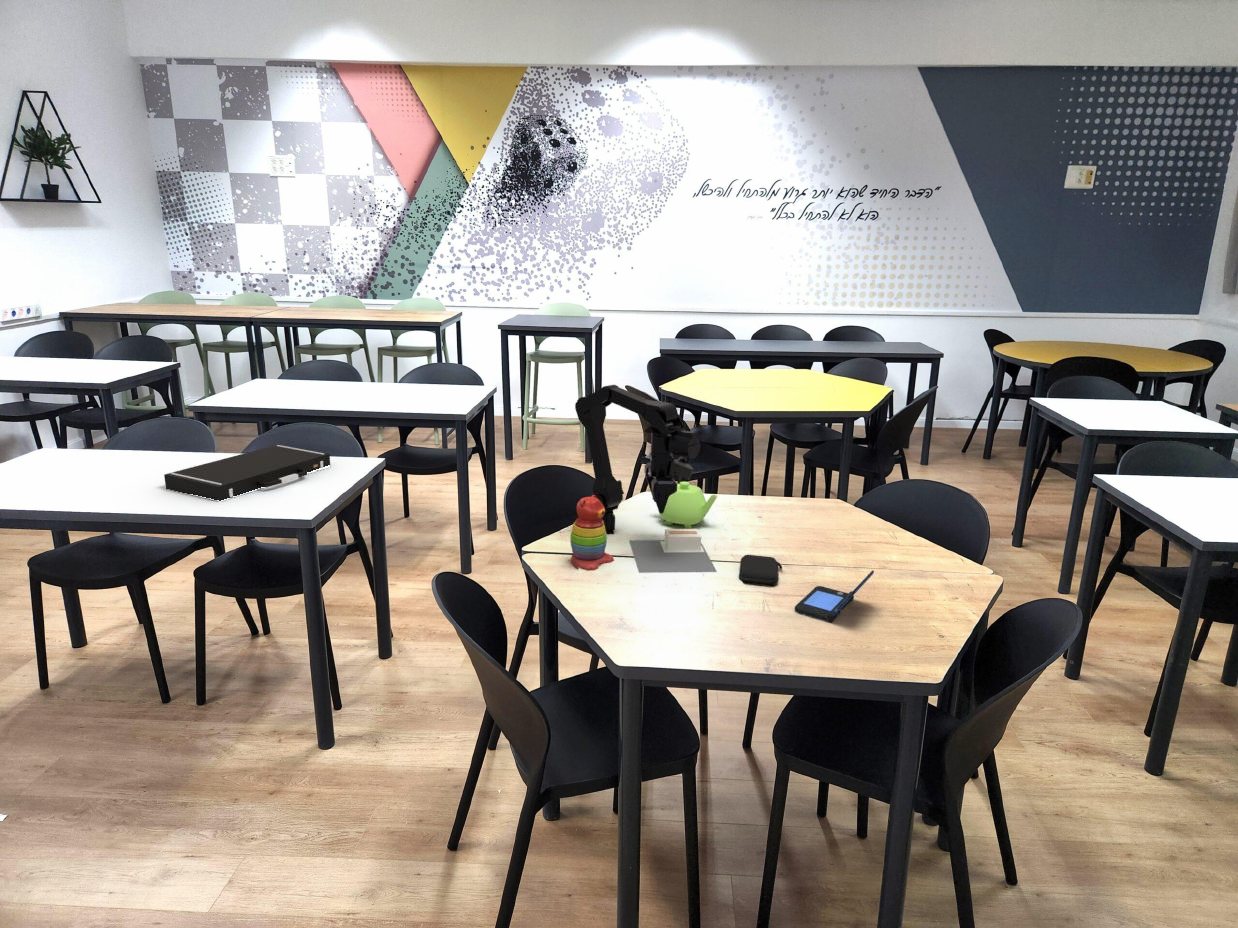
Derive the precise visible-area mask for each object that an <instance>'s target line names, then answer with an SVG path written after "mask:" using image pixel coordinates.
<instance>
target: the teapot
mask: <svg viewBox="0 0 1238 928" xmlns="http://www.w3.org/2000/svg"><path fill="white" fill-rule="evenodd" d="M651 498H652V500H653V501H654V499H653V497H651ZM717 498H718V495H716V494H711V495H710V497H709V498H708V499H707V501H706V498H705V494H704V493H703V490H702V489H701V488H700V487H699V486H695V485H692V484H690V482H688V481H680V482H679V483H677V492H675V493H674V494H672V495H670V496H669V498H668V501H667V504H666V507H665V510H664V513H659V512H658V513H659V516H660V517H661V519H662V520H664V521H665V522H664V525H667V526H673V525H674V524H676V525H683V529H693V527H692V526H693V525H697V524H699V523H700V522H702V520H703V519H704V518H705V517H706V515H707V514H708V512H709V511H710V509H711V508H712V506H713V504H714V502H715V501H716V500H717Z"/></svg>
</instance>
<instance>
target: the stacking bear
mask: <svg viewBox="0 0 1238 928" xmlns="http://www.w3.org/2000/svg"><path fill="white" fill-rule="evenodd" d="M576 513H577V516H578V517H577V518H576V520H575V521H574V522H573V523H572V527H571V532H570V537H569V538H570V540H569V541H570V547H571V552H572V555H571V558H570V563H571V565H572V566H573V567H575V568H576V569H577V570H578V569H581V570H584V571H596V570H598V569H599V567H600V566H602V565H604V564H605V565H606V564H610V563H611V564H612V562H615V559H614V556H613V555H611V554H609V553H607V552H605V551H606V547H607V542H608V541H607V539H608V534H606V530H605V525H604V521H603V520H602V517H603V515H604V513H605V508H604V506H603V504H602V503H601V501H600V500H599V499H597V497H596V495H593V494H592V495H591V496H585V497H582V498H580V500H579V501H578V502H577V505H576Z"/></svg>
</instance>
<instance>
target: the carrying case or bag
mask: <svg viewBox="0 0 1238 928" xmlns="http://www.w3.org/2000/svg"><path fill="white" fill-rule="evenodd" d="M779 570H783V566H782V564H781V563H780V562H779V561H778V560H776V558H774V557H772V556H766V555H765V556H764V555H755V554H744V556H742V557H741V558H740V563H739V573H738V578H739V580H740V581H741V583H743V584H749V585H757V586H758V585H759V586H768V587H772V586H775V585H776V584H777V583H778V582H779Z"/></svg>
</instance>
